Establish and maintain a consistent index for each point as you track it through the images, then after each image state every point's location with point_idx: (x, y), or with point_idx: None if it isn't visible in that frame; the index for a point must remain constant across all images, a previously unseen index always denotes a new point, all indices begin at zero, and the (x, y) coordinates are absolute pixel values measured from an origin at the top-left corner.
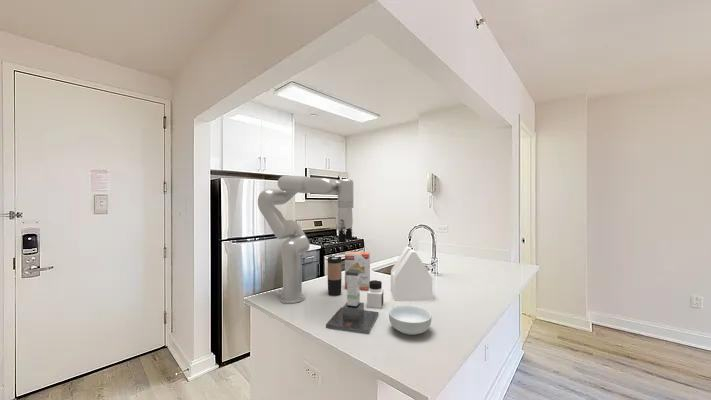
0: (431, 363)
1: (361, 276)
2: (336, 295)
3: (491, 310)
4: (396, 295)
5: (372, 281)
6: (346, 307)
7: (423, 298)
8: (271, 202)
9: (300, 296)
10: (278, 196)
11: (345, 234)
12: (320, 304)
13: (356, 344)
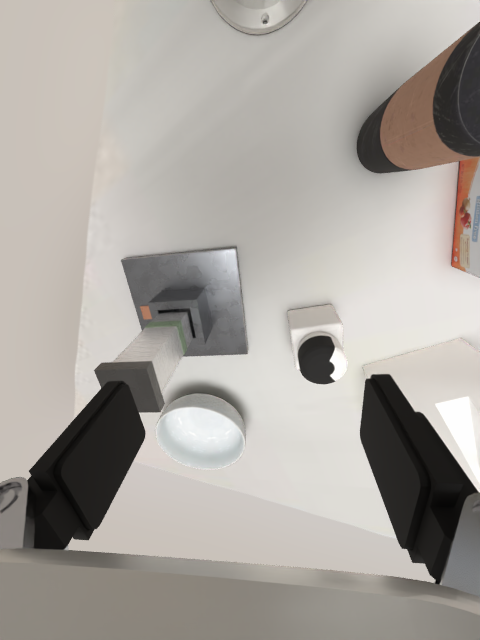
0: None
1: None
2: (362, 163)
3: (350, 518)
4: (368, 378)
5: (315, 360)
6: (152, 312)
7: None
8: None
9: (262, 3)
10: None
11: (90, 527)
12: (256, 147)
13: (108, 344)
